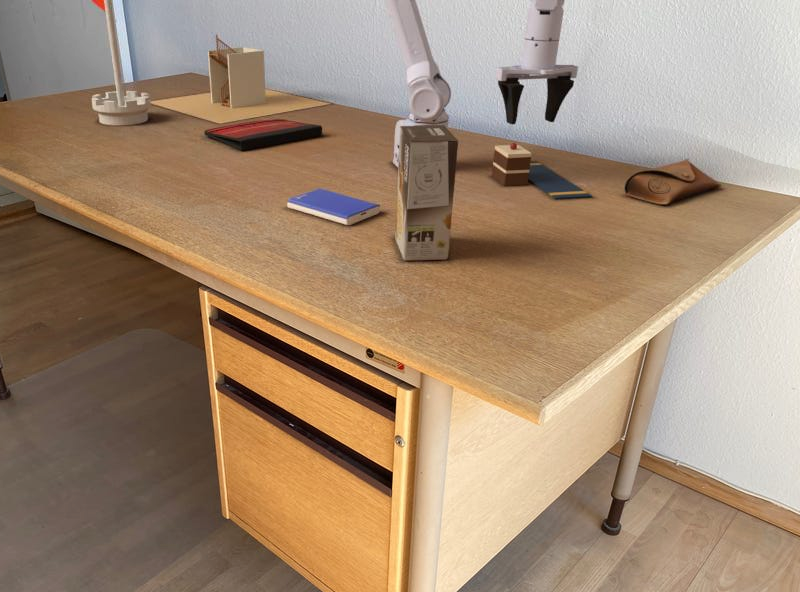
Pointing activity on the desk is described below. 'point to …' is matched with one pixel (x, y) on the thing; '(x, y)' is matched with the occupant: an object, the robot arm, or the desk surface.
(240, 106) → the staircase
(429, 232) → the coffee box
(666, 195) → the sunglasses case
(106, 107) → the flag stand
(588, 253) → the desk surface
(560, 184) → the cloth
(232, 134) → the binder
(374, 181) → the desk surface
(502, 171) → the cake slice
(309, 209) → the hard drive
